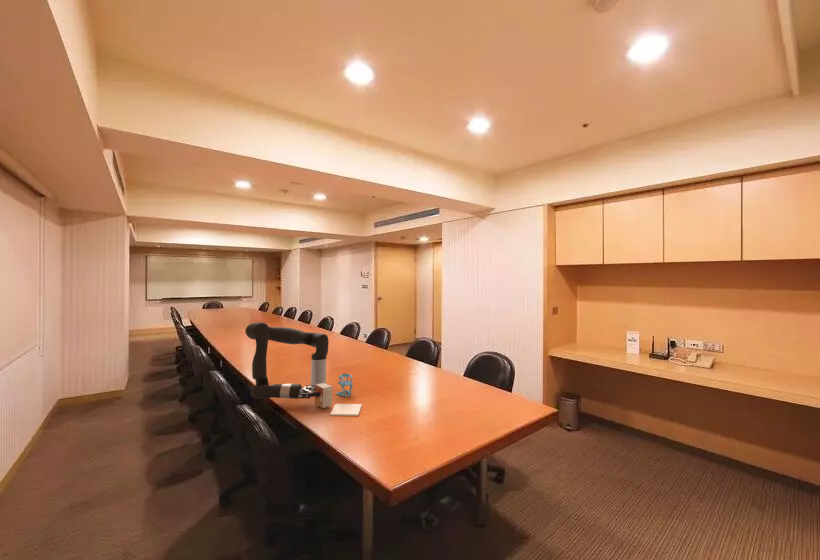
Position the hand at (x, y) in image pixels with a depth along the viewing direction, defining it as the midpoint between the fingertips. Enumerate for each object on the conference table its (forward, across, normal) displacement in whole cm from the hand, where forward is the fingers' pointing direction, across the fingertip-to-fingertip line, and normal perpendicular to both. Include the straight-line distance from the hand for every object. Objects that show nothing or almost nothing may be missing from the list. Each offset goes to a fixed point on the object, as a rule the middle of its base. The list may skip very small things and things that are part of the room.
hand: (321, 391), depth 180 cm
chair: (+9, +19, +8) cm, 22 cm away
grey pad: (+14, -5, +8) cm, 17 cm away
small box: (+1, -1, +7) cm, 7 cm away
